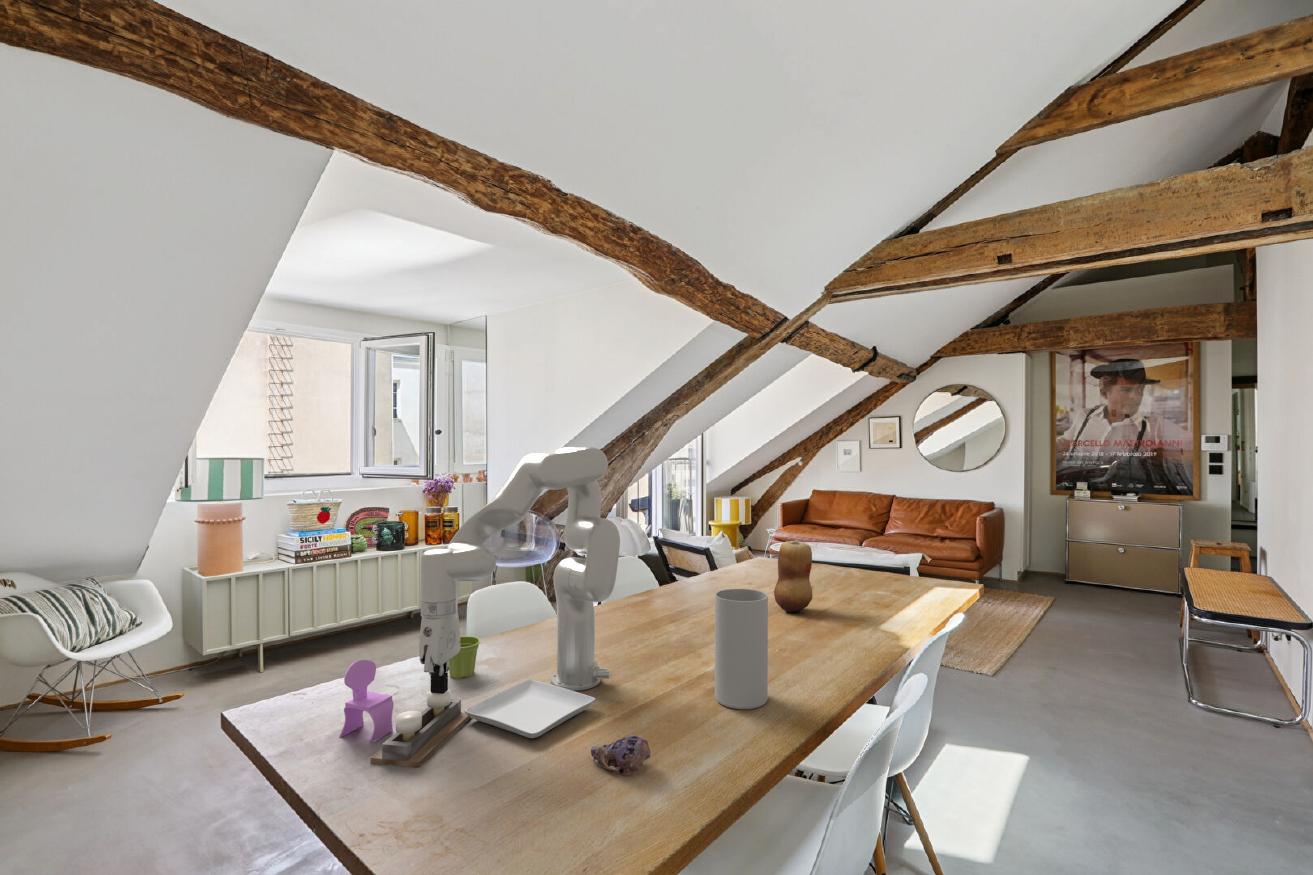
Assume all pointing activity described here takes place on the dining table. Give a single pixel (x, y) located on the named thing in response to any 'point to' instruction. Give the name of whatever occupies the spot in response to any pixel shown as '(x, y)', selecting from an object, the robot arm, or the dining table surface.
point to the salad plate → (530, 708)
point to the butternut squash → (794, 576)
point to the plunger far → (438, 701)
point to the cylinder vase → (741, 648)
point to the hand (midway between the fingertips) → (439, 691)
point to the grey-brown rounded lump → (622, 754)
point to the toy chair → (366, 701)
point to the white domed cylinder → (408, 724)
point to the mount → (422, 738)
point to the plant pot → (464, 658)
